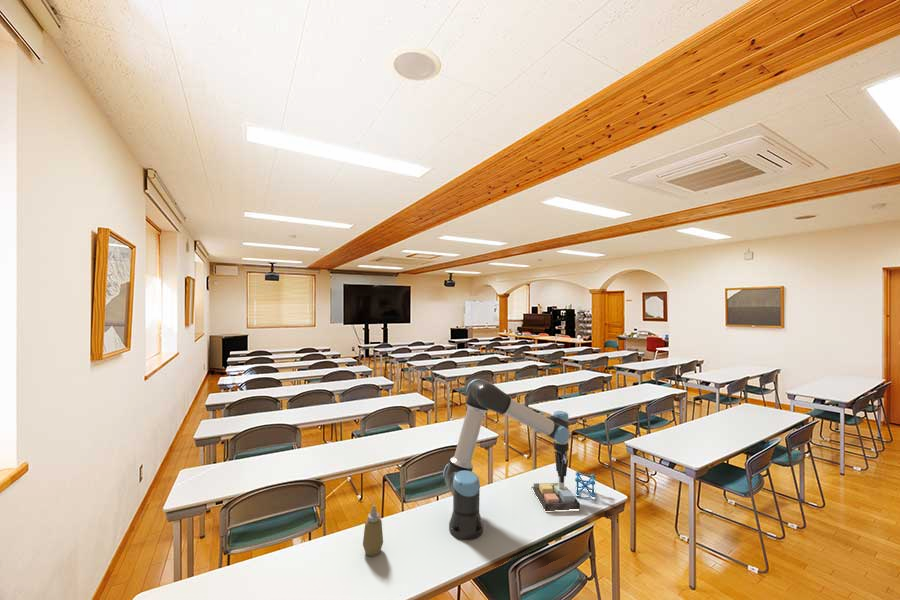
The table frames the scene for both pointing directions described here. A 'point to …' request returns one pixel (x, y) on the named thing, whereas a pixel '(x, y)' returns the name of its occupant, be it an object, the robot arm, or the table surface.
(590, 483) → the molecular structure
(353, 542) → the table surface
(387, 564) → the table surface
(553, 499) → the terracotta key
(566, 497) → the slate key
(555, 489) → the sage key
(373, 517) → the squeeze bottle
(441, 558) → the table surface
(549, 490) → the mustard key
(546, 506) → the keypad
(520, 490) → the table surface
